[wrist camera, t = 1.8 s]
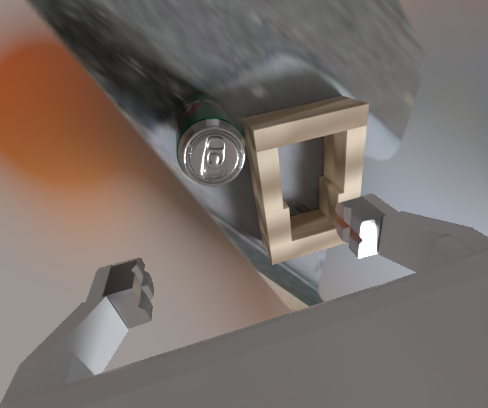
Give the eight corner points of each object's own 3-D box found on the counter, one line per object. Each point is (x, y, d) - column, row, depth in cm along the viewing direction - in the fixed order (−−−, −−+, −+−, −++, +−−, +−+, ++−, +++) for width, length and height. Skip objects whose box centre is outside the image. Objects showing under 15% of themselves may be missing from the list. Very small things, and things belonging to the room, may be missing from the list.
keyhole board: (241, 118, 29) (253, 130, 25) (341, 95, 30) (368, 103, 26) (261, 241, 39) (272, 264, 35) (337, 219, 40) (356, 239, 36)
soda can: (175, 141, 29) (177, 192, 19) (174, 91, 26) (175, 119, 16) (221, 142, 30) (246, 190, 20) (224, 94, 28) (254, 123, 18)
